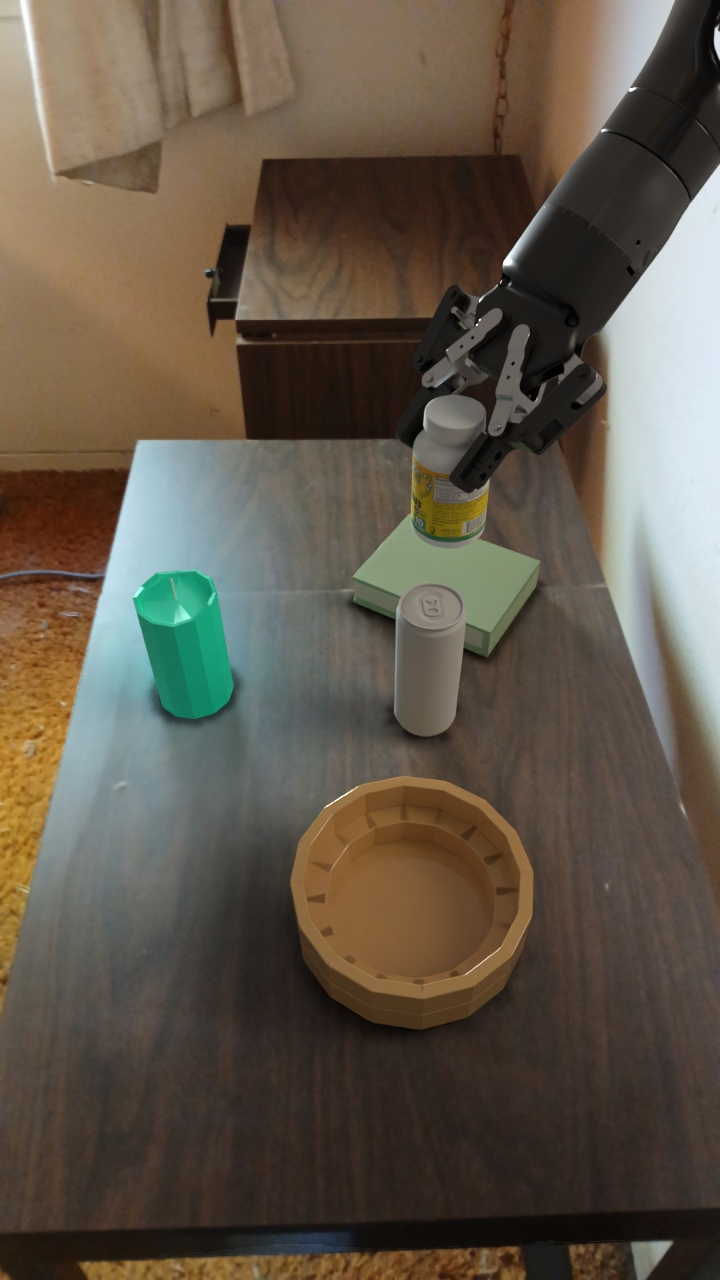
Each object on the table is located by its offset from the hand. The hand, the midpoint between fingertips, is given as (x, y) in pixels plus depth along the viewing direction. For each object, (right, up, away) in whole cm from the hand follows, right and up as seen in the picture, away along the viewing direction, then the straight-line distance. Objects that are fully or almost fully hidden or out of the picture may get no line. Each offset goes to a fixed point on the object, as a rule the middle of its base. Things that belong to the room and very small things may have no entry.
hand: (431, 464), depth 59 cm
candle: (-18, -16, +12) cm, 27 cm away
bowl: (-2, -30, -1) cm, 30 cm away
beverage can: (0, -18, +10) cm, 20 cm away
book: (+3, -8, +19) cm, 21 cm away
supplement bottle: (+2, -4, +5) cm, 7 cm away
